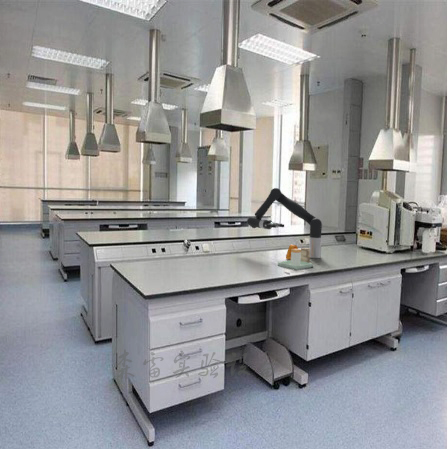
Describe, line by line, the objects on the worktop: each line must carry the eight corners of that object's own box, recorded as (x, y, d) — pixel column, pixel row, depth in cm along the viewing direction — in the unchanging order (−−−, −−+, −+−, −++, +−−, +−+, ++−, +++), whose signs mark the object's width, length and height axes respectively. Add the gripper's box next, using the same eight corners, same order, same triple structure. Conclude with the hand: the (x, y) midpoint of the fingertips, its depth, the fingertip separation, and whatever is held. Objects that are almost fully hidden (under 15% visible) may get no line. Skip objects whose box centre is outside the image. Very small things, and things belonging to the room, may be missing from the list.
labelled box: (295, 264, 277) (295, 248, 276) (300, 265, 273) (300, 249, 272) (290, 265, 274) (291, 249, 273) (295, 266, 270) (296, 250, 269)
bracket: (291, 260, 296) (291, 246, 294) (285, 259, 302) (286, 244, 301) (301, 259, 301) (302, 245, 299) (296, 258, 307) (296, 244, 306)
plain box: (304, 263, 288) (305, 247, 286) (309, 264, 284) (310, 248, 283) (300, 263, 285) (300, 248, 284) (305, 264, 281) (305, 249, 280)
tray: (294, 263, 286) (294, 259, 286) (312, 267, 272) (313, 263, 271) (278, 265, 275) (278, 261, 275) (296, 270, 261) (296, 266, 261)
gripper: (259, 220, 298) (273, 221, 285) (272, 219, 307) (286, 221, 294) (259, 229, 299) (273, 231, 286) (272, 228, 308) (286, 230, 295)
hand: (280, 226), depth 290 cm, fingers open, 8 cm apart
